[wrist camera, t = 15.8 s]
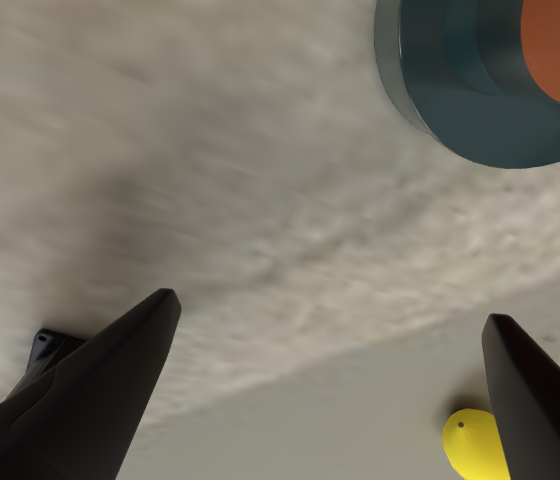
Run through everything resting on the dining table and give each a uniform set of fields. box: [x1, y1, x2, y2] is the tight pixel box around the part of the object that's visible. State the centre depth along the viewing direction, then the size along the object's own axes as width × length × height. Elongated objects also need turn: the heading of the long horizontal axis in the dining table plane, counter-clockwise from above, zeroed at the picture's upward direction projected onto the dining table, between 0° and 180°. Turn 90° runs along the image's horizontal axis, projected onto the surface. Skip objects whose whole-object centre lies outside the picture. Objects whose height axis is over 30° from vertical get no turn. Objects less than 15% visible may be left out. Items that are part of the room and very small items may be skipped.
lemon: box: [442, 408, 511, 480], centre depth 28 cm, size 7×5×5 cm
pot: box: [374, 0, 560, 169], centre depth 15 cm, size 13×16×4 cm
